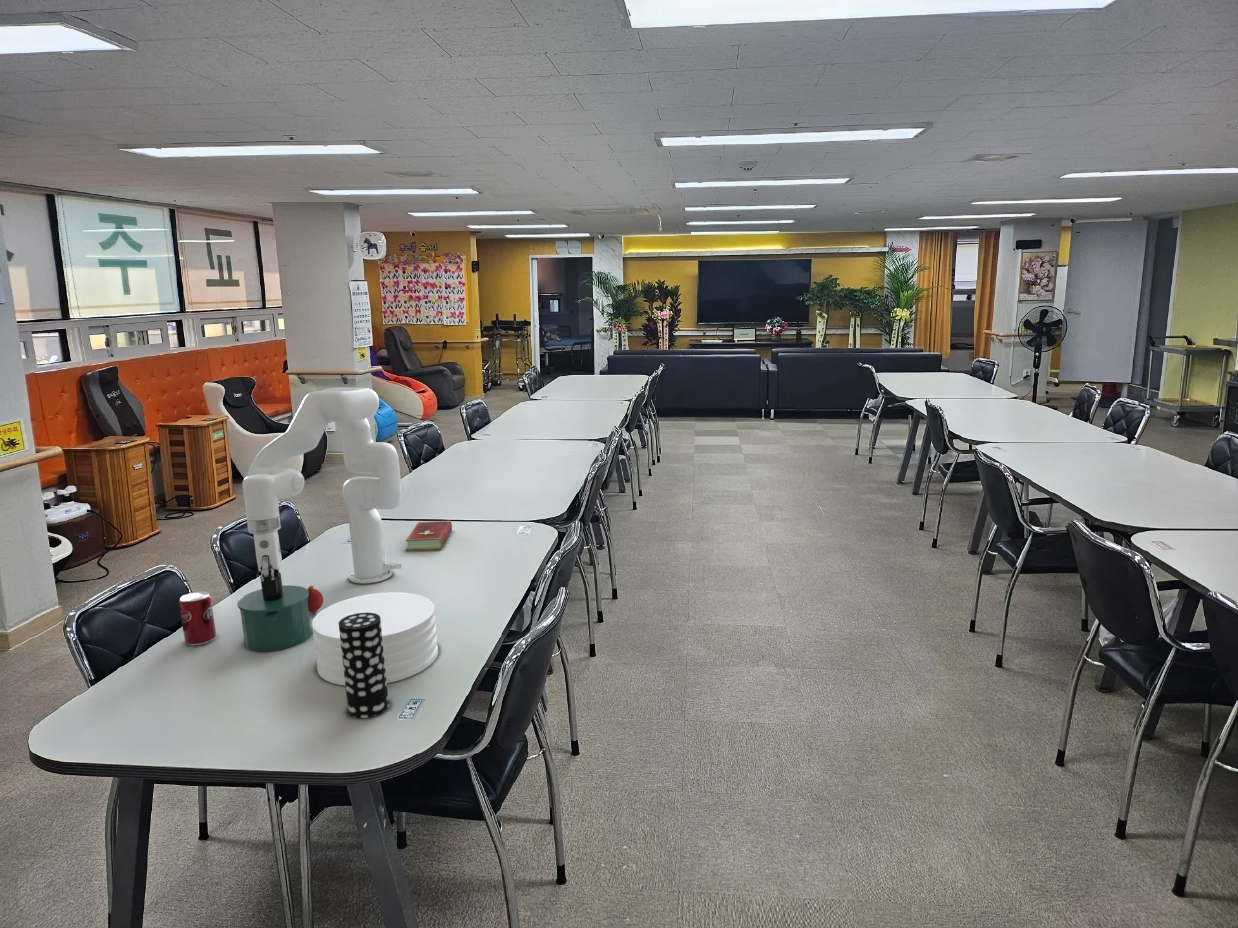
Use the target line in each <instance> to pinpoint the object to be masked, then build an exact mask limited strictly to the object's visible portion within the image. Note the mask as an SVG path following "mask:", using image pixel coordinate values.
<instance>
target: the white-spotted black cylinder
mask: <svg viewBox="0 0 1238 928" xmlns="http://www.w3.org/2000/svg"><path fill="white" fill-rule="evenodd" d="M339 632H340V641H341V650H342V659H343V668H344V677H345V686H344V687H345V695H346V703H347V713H348V715H349V716H351V717H353V718H356V719H369V718H373V717H377V716H379V715H382V714H383V713H384V712H386V711H387V710H388V709H389V706H390V703H389V702H390V701H389V692H388V691H389V690H388V683H387V680H386V670H385V660H384V649H383V639H382V629H381V619H380V616H379V615H378V614H375V613H357V614H352V615H349V616H347V617H344V618H343V619H341V620H340V621H339Z"/></svg>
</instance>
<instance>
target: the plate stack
mask: <svg viewBox="0 0 1238 928" xmlns="http://www.w3.org/2000/svg"><path fill="white" fill-rule="evenodd" d="M435 607H436V606H435V604H434V602H432V600H431V599H429V598H428V597H425V596H423V595H420V594H416V593H410V592H401V591H400V592H398V591H390V592H389V591H386V592H375V593H367V594H361V595H358V596H354V597H350V598H347V599H344V600H340V601H338V602H335V603H332V604H331V605H329V606H327V607H325V608H324V609H322V610H320V611H319V612H317V614H315V616H314V617H313V619H312V622H311V627H312V629H311V630H312V636H313V642H314V643H313V644H314V651H315V661H316V668H317V673H318V675H319V676H320V677H321V678H322V679H323V680H325V681H326V682H329V683H331V684H335V685H339V686H344V687H346V686H345V677H344V668H343V659H342V650H341V641H340V632H339V621H340V620H341V619H343V618H344V617H347V616H349V615H352V614H357V613H375V614H378V615H379V616H380V619H381V629H382V639H383V649H384V660H385V670H386V680H387V684H390V683H391V684H392V683H394V682H398V681H401V680H405V679H407V678H410V677H412V676H414V675H417V674H419V673H421V672H422V671H424V670H425V669H427V668H428V667H430V666H431V665H432V664H433V663H434V662H435V660H436V659H437V657H438V656H439V655H438V654H439V646H438V635H437V625H436V622H437V619H436V609H435Z"/></svg>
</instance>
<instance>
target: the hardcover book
mask: <svg viewBox="0 0 1238 928" xmlns="http://www.w3.org/2000/svg"><path fill="white" fill-rule="evenodd" d="M452 531H453V522H452V521H451V520H435V521H434V520H433V521H418V522H417V523H416V525H414V528H413V529H412V530H411V532H409V534H408V535H407V537H406V539H405V542H407V543H406V544H407V549H406V552H418V551H441V550H442V549H443V547H444V545H445V544H446V542H447V540H448V538H449V536H450V534H451V533H452Z"/></svg>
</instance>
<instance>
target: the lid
mask: <svg viewBox="0 0 1238 928" xmlns="http://www.w3.org/2000/svg"><path fill="white" fill-rule="evenodd" d="M270 573H271V572H270ZM274 579H275V580H276V588H277V595H273V596H265V597H264V596H263V592H262V588H261V589H257V590H254V591H251V592H248V593H247V594H245V595H243V596H242V597H240V598H239V599H238V600H237V602H236V603H237V608H238V609H239V611H240V610H243V611H246V612H254V613H262V612H272V611H278V610H282V609H286V608H290V607H292V606H295V605H297V604H299V603H301V602H303V601H304V600H306V599H307V598H308V596H309V592H308V590H307V589H308V588H306V587H304V586H300V585H288V584H287V585H283V580H282V573H281V572H280V571H279V572H274ZM261 581H262V577H261V575H260V583H261ZM260 585H261V587H262V583H261V584H260Z"/></svg>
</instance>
